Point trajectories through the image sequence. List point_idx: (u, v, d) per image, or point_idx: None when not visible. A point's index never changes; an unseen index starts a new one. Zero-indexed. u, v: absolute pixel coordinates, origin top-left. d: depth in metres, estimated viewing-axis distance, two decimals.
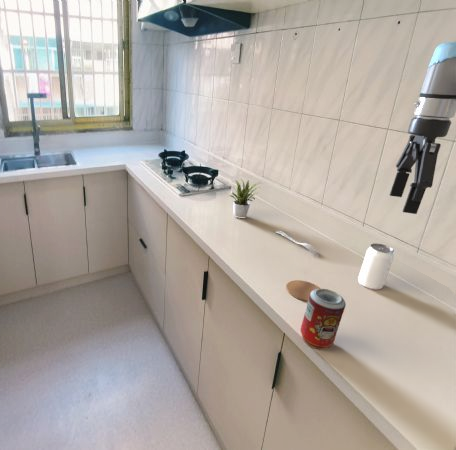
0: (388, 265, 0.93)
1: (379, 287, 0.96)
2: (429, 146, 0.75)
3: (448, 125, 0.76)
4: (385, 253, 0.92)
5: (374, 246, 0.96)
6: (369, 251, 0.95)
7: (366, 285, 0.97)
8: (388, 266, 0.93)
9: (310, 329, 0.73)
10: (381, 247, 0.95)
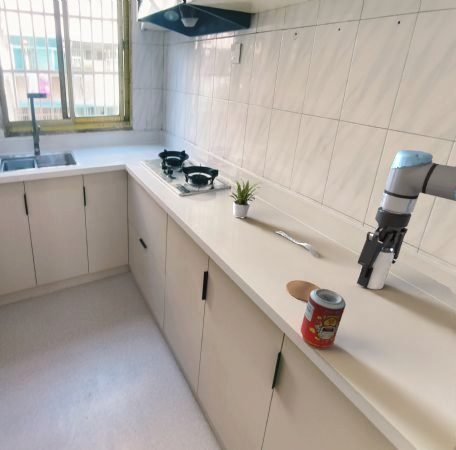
0: (388, 265, 0.93)
1: (379, 287, 0.96)
2: (368, 235, 0.91)
3: (398, 219, 0.87)
4: (385, 253, 0.92)
5: None
6: None
7: None
8: (388, 266, 0.93)
9: (310, 329, 0.73)
10: None
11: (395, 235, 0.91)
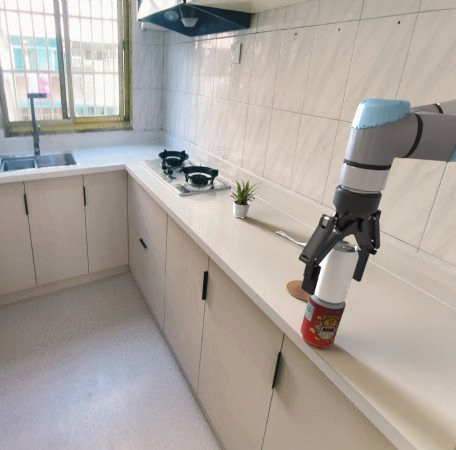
0: (350, 270, 0.66)
1: (339, 300, 0.69)
2: (322, 218, 0.63)
3: (362, 200, 0.60)
4: (346, 253, 0.65)
5: None
6: None
7: (322, 297, 0.70)
8: (351, 271, 0.66)
9: (310, 329, 0.73)
10: (342, 244, 0.68)
11: (360, 225, 0.64)
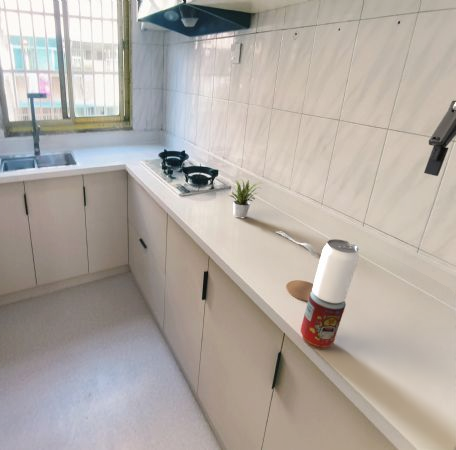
0: (350, 270, 0.66)
1: (339, 300, 0.69)
2: (453, 104, 0.74)
3: None
4: (346, 253, 0.65)
5: (332, 243, 0.69)
6: (325, 250, 0.68)
7: (322, 297, 0.70)
8: (351, 271, 0.66)
9: (310, 329, 0.73)
10: (342, 244, 0.68)
11: None
